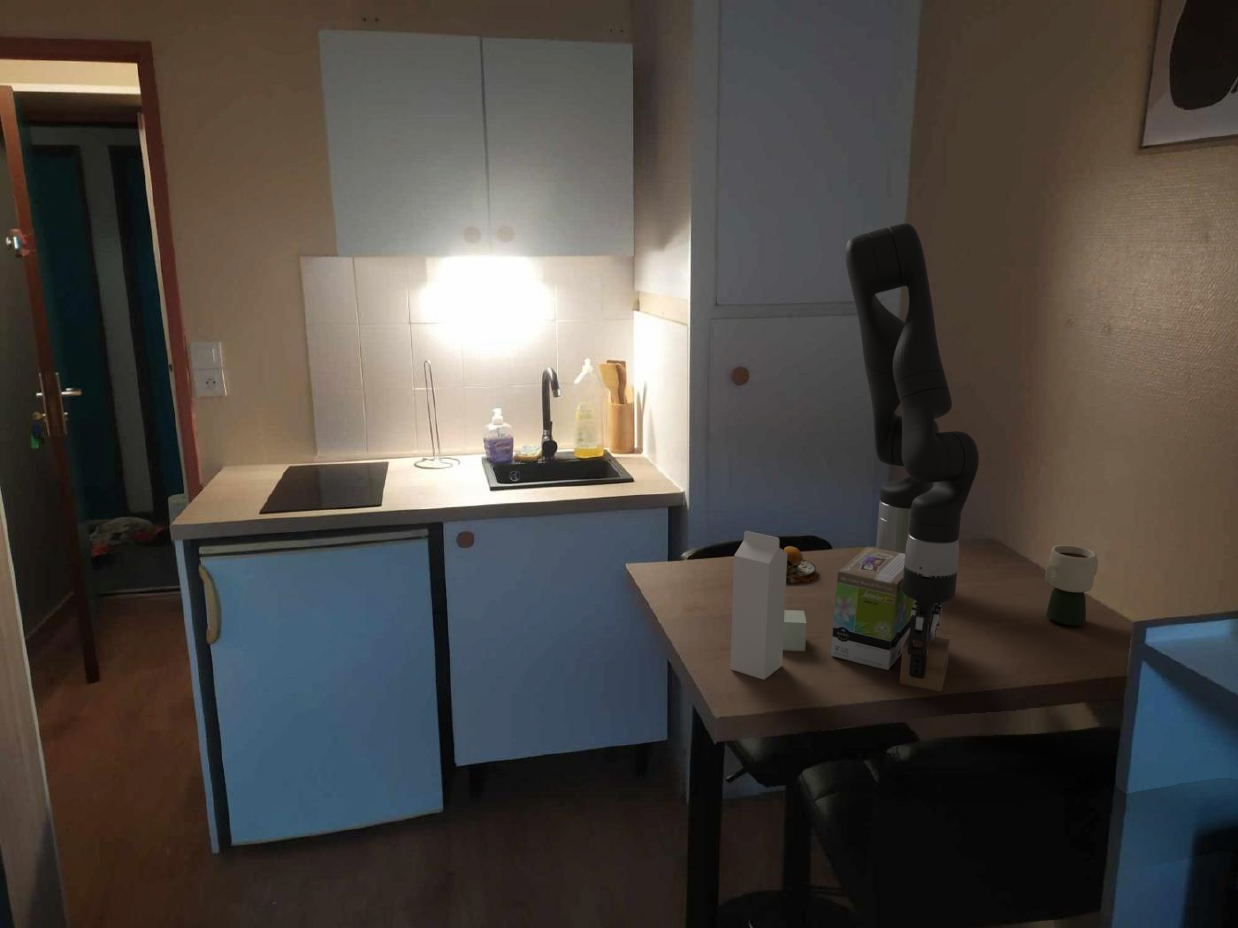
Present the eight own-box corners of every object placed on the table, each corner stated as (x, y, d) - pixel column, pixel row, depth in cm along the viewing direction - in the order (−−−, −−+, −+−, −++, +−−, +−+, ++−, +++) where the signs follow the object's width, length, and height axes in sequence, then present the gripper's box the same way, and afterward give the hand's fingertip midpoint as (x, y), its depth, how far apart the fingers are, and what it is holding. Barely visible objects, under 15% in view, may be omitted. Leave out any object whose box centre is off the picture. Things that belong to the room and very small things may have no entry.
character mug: (1074, 609, 169) (1082, 541, 165) (1105, 625, 162) (1115, 554, 159) (1025, 617, 165) (1033, 548, 162) (1055, 634, 159) (1064, 561, 155)
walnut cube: (906, 667, 147) (909, 631, 145) (946, 674, 144) (949, 639, 143) (899, 683, 142) (902, 647, 140) (941, 691, 139) (944, 654, 138)
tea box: (891, 672, 145) (898, 583, 141) (828, 657, 150) (834, 570, 147) (917, 637, 157) (924, 554, 154) (858, 624, 163) (864, 543, 159)
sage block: (772, 637, 158) (773, 609, 156) (802, 638, 157) (803, 610, 156) (774, 649, 153) (775, 621, 152) (805, 651, 152) (806, 622, 151)
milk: (748, 656, 150) (753, 525, 145) (782, 666, 147) (789, 532, 142) (729, 670, 146) (734, 535, 140) (764, 680, 142) (770, 542, 137)
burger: (785, 560, 194) (787, 526, 193) (828, 576, 185) (830, 541, 183) (743, 572, 188) (744, 536, 186) (785, 590, 178) (787, 553, 177)
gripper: (913, 547, 146) (904, 643, 150) (895, 575, 134) (887, 679, 138) (963, 554, 143) (953, 652, 147) (950, 584, 131) (940, 690, 134)
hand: (921, 665), depth 142 cm, fingers open, 8 cm apart
